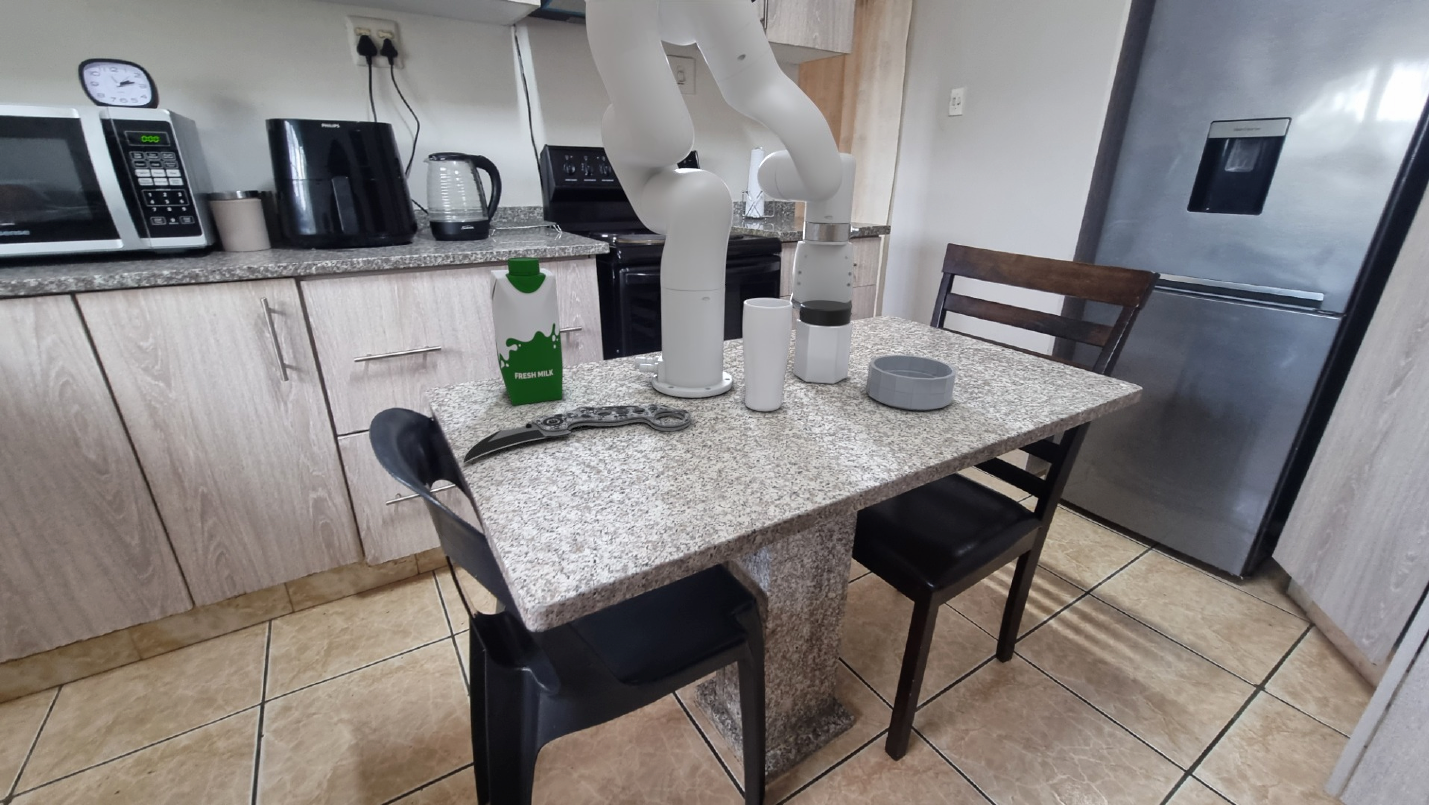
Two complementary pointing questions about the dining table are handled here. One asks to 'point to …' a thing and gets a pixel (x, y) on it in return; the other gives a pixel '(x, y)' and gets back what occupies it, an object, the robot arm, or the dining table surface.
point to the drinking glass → (766, 350)
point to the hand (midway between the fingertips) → (817, 341)
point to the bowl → (911, 382)
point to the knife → (580, 424)
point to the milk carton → (527, 331)
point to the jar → (823, 341)
